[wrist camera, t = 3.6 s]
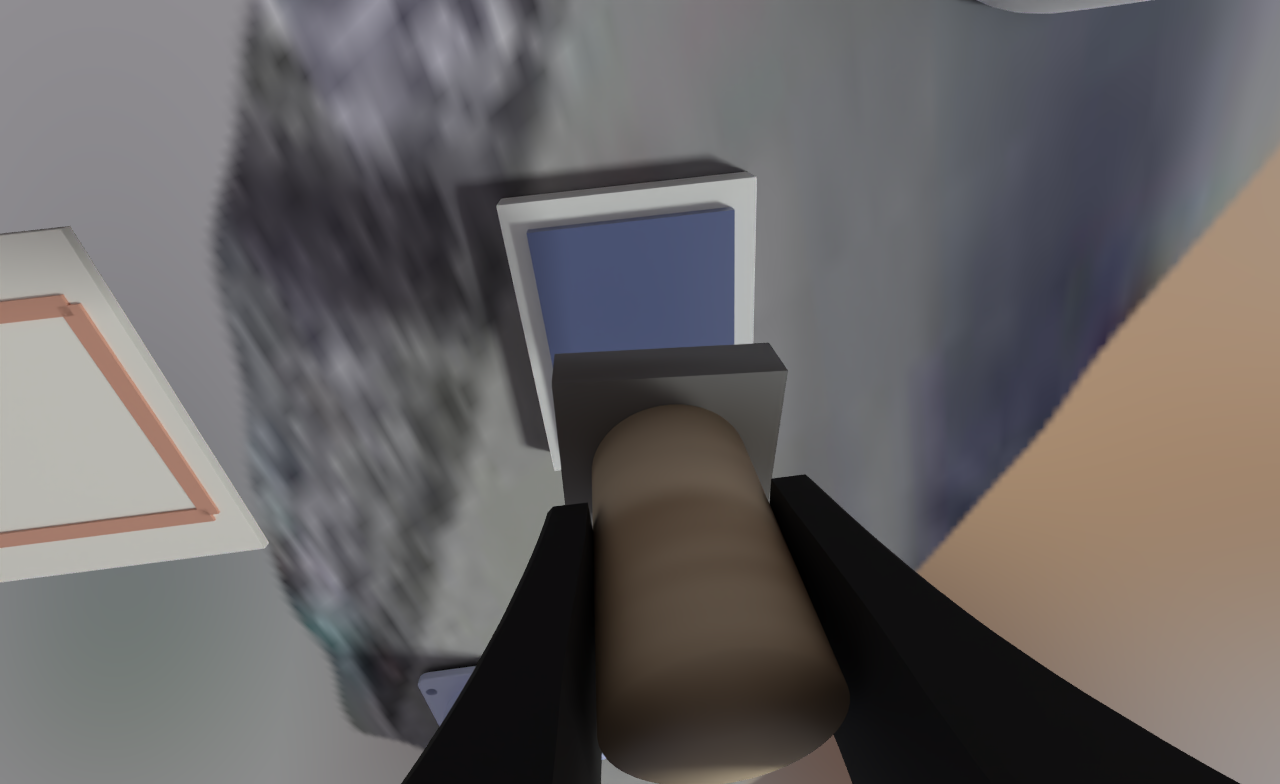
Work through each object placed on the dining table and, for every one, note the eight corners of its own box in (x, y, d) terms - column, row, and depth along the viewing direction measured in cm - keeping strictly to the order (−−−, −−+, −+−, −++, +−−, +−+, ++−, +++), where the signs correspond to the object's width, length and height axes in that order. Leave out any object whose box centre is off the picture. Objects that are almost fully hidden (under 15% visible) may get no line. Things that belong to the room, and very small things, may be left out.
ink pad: (743, 429, 20) (753, 452, 18) (555, 453, 19) (553, 478, 18) (747, 171, 15) (761, 179, 14) (501, 198, 15) (493, 208, 14)
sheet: (269, 542, 20) (263, 550, 20) (1, 576, 20) (-9, 585, 20) (69, 226, 14) (57, 229, 14) (-320, 268, 14) (-342, 273, 14)
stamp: (748, 501, 13) (858, 787, 8) (571, 514, 13) (563, 821, 8) (768, 343, 11) (940, 594, 6) (554, 354, 11) (526, 632, 5)
